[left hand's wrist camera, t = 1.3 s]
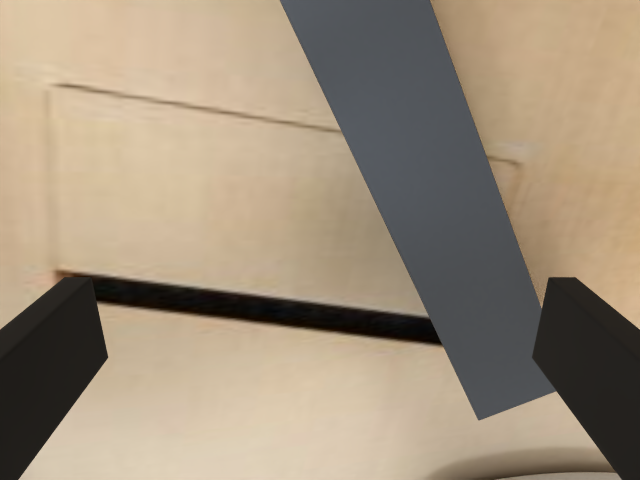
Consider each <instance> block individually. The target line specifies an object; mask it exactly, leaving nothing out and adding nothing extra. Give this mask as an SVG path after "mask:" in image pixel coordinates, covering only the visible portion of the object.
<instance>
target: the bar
mask: <svg viewBox="0 0 640 480" xmlns="http://www.w3.org/2000/svg"><path fill="white" fill-rule="evenodd" d="M280 2H281V4H282V6H283V8H284V10H285V12H286V14H287V16H288V19H289V21H290V23H291V25H292V27H293V29H294V31H295V33H296V36H297V38H298V40H299V42H300V44H301V46H302V48H303V50H304V52H305V55H306V57H307V59H308V61H309V63H310V65H311V67H312V69H313V71H314V74H315V76H316V78H317V80H318V82H319V84H320V86H321V88H322V91H323V93H324V95H325V97H326V99H327V101H328V103H329V105H330V107H331V110H332V112H333V114H334V116H335V118H336V120H337V122H338V124H339V127H340V129H341V131H342V133H343V135H344V137H345V139H346V141H347V143H348V146H349V148H350V150H351V152H352V154H353V156H354V158H355V160H356V162H357V165H358V167H359V169H360V171H361V173H362V175H363V177H364V179H365V182H366V184H367V186H368V188H369V190H370V192H371V194H372V196H373V198H374V201H375V203H376V205H377V207H378V209H379V211H380V213H381V215H382V218H383V220H384V222H385V224H386V226H387V228H388V230H389V232H390V234H391V237H392V239H393V241H394V243H395V245H396V247H397V249H398V251H399V253H400V256H401V258H402V260H403V262H404V264H405V266H406V268H407V270H408V273H409V275H410V277H411V279H412V281H413V283H414V285H415V287H416V289H417V292H418V294H419V296H420V298H421V300H422V302H423V304H424V306H425V309H426V311H427V313H428V315H429V317H430V319H431V321H432V323H433V325H434V328H435V330H436V332H437V334H438V336H439V338H440V340H441V342H442V344H443V347H444V349H445V351H446V353H447V355H448V357H449V359H450V361H451V364H452V366H453V368H454V370H455V372H456V374H457V376H458V378H459V380H460V383H461V385H462V387H463V389H464V391H465V393H466V395H467V397H468V400H469V402H470V404H471V406H472V408H473V410H474V412H475V414H476V416H477V419H478V420H481V419H484V418H487V417H489V416H492V415H495V414H497V413H500V412H503V411H505V410H508V409H510V408H513V407H516V406H518V405H521V404H524V403H526V402H529V401H532V400H534V399H537V398H540V397H542V396H545V395H547V394H550V393H553V392H555V391H556V390H555V388H554V387H553V386H552V384H551V383H550V382H549V380H548V379H547V378H546V376H545V375H544V373H543V372H542V371H541V369H540V368H539V367H538V365H537V364H536V363H535V361H534V360H533V358H532V354H533V350H534V345H535V340H536V335H537V331H538V326H539V321H540V316H541V312H542V308H541V306H540V303H539V300H538V297H537V295H536V292H535V289H534V286H533V284H532V281H531V278H530V275H529V273H528V270H527V267H526V264H525V262H524V259H523V256H522V253H521V251H520V248H519V245H518V242H517V240H516V237H515V234H514V231H513V228H512V226H511V223H510V220H509V217H508V215H507V212H506V209H505V206H504V204H503V201H502V198H501V195H500V193H499V190H498V187H497V184H496V182H495V179H494V176H493V173H492V171H491V168H490V165H489V162H488V160H487V157H486V154H485V151H484V148H483V146H482V143H481V140H480V137H479V135H478V132H477V129H476V126H475V124H474V121H473V118H472V115H471V113H470V110H469V107H468V104H467V102H466V99H465V96H464V93H463V91H462V88H461V85H460V82H459V80H458V77H457V74H456V71H455V68H454V66H453V63H452V60H451V57H450V55H449V52H448V49H447V46H446V44H445V41H444V38H443V35H442V33H441V30H440V27H439V24H438V22H437V19H436V16H435V13H434V11H433V8H432V5H431V2H430V0H280Z"/></svg>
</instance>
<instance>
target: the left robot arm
mask: <svg viewBox="0 0 640 480" xmlns="http://www.w3.org/2000/svg"><path fill="white" fill-rule="evenodd" d="M107 358H108V354H107V350H106V345H105V340H104V335H103V331H102V326H101V321H100V316H99V312H98V307H97V302H96V297H95V293H94V288H93V283H92V278H91V277H64V278H63V279H62V280H61V281H60V282H58V283H57V284H56V285H55V286H53V287H52V288H51V289H50V290H48V291H47V292H46V293H45V294H44V295H42V296H41V297H40V298H39V299H37V300H36V301H35V302H34V303H33V304H31V305H30V306H29V307H28V308H26V309H25V310H24V311H23V312H21V313H20V314H19V315H18V316H17V317H15V318H14V319H13V320H12V321H10V322H9V323H8V324H7V325H5V326H4V327H3V328H2V329H1V330H0V480H18V479H19V478H20V477H21V475H22V474H23V473H24V471H25V470H26V469H27V467H28V466H29V464H30V463H31V462H32V460H33V459H34V458H35V456H36V455H37V454H38V452H39V451H40V450H41V448H42V447H43V445H44V444H45V443H46V441H47V440H48V439H49V437H50V436H51V435H52V433H53V432H54V431H55V429H56V428H57V426H58V425H59V424H60V422H61V421H62V420H63V418H64V417H65V416H66V414H67V413H68V411H69V410H70V409H71V407H72V406H73V405H74V403H75V402H76V401H77V399H78V398H79V397H80V395H81V394H82V392H83V391H84V390H85V388H86V387H87V386H88V384H89V383H90V382H91V380H92V379H93V378H94V376H95V375H96V373H97V372H98V371H99V369H100V368H101V367H102V365H103V364H104V363H105V361H106V360H107ZM532 358H533V360H534V361H535V363H536V364H537V365H538V367H539V368H540V369H541V371H542V372H543V373H544V375H545V376H546V378H547V379H548V380H549V382H550V383H551V384H552V386H553V387H554V388H555V390H556V391H557V392H558V394H559V395H560V397H561V398H562V399H563V401H564V402H565V403H566V405H567V406H568V407H569V409H570V410H571V411H572V413H573V414H574V416H575V417H576V418H577V420H578V421H579V422H580V424H581V425H582V426H583V428H584V429H585V431H586V432H587V433H588V435H589V436H590V437H591V439H592V440H593V441H594V443H595V444H596V445H597V447H598V448H599V450H600V451H601V452H602V454H603V455H604V456H605V458H606V459H607V460H608V462H609V463H610V464H611V466H612V467H613V469H614V470H615V471H616V473H617V474H618V475H619V477H620V478H621V479H622V480H640V330H639V329H638V328H637V327H636V326H635V325H633V324H632V323H631V322H630V321H628V320H627V319H626V318H625V317H623V316H622V315H621V314H620V313H619V312H617V311H616V310H615V309H614V308H612V307H611V306H610V305H609V304H607V303H606V302H605V301H604V300H603V299H601V298H600V297H599V296H598V295H596V294H595V293H594V292H593V291H592V290H590V289H589V288H588V287H587V286H585V285H584V284H583V283H582V282H580V281H579V280H578V279H577V278H576V277H549V278H548V283H547V288H546V293H545V297H544V302H543V307H542V312H541V316H540V321H539V326H538V331H537V335H536V340H535V345H534V350H533V354H532Z"/></svg>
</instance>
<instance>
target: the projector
mask: <svg viewBox="0 0 640 480" xmlns="http://www.w3.org/2000/svg"><path fill="white" fill-rule="evenodd" d="M496 480H622V479H621V478H620V477H619V475H618V474H617V473H608V472H567V473H549V474H537V475H526V476H518V477H510V478H503V479H496Z"/></svg>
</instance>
